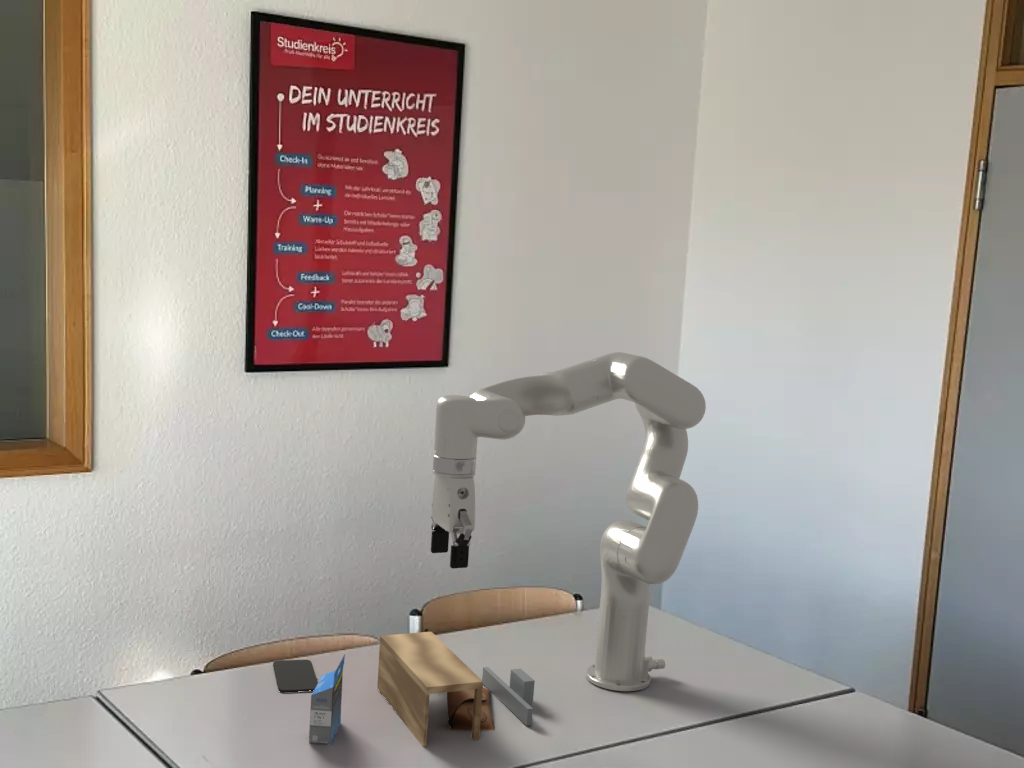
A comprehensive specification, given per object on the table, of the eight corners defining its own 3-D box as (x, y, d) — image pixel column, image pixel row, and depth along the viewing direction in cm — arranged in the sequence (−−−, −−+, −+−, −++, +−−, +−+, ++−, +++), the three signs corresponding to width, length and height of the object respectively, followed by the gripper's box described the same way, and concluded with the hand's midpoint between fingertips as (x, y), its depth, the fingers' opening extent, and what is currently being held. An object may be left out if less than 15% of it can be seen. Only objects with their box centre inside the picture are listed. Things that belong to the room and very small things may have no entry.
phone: (311, 659, 217) (320, 688, 203) (310, 663, 217) (320, 693, 203) (272, 660, 215) (278, 690, 201) (272, 664, 215) (278, 695, 201)
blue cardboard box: (318, 720, 191) (322, 651, 189) (341, 722, 191) (345, 653, 189) (307, 743, 182) (311, 670, 180) (331, 745, 182) (335, 672, 180)
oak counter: (427, 683, 210) (431, 631, 209) (479, 739, 188) (483, 681, 186) (377, 688, 206) (380, 635, 205) (423, 746, 183) (427, 687, 182)
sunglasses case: (497, 730, 191) (480, 698, 191) (461, 749, 191) (443, 717, 190) (490, 689, 209) (474, 659, 208) (457, 707, 209) (441, 677, 208)
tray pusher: (503, 680, 214) (505, 655, 213) (549, 722, 196) (551, 695, 195) (482, 682, 212) (483, 657, 212) (526, 725, 194) (528, 698, 193)
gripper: (493, 475, 190) (486, 572, 192) (456, 455, 206) (451, 546, 208) (452, 476, 187) (446, 575, 189) (418, 456, 203) (413, 548, 205)
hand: (448, 559), depth 199 cm, fingers open, 9 cm apart
